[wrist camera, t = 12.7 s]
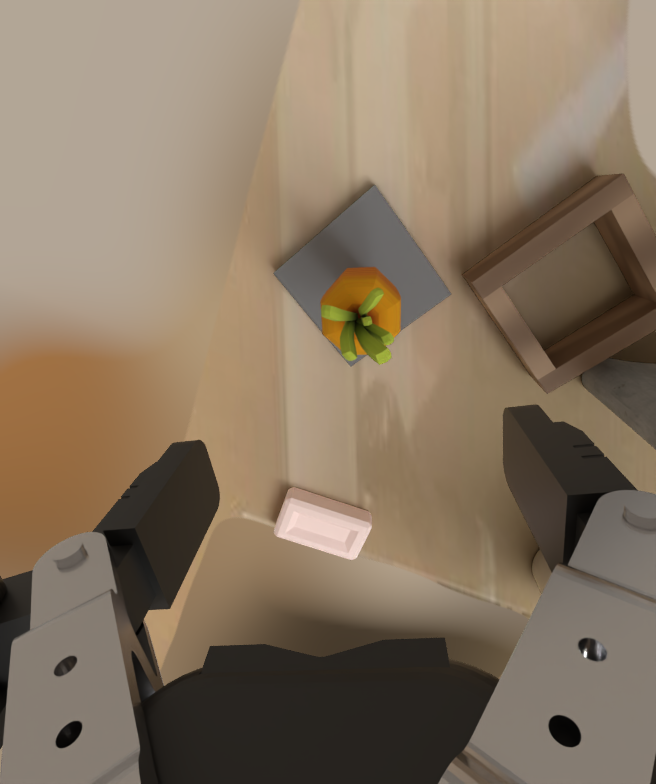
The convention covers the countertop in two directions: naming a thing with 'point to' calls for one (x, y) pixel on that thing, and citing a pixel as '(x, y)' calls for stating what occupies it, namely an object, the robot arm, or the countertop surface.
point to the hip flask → (626, 393)
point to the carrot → (362, 314)
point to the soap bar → (323, 523)
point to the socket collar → (587, 205)
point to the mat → (363, 260)
